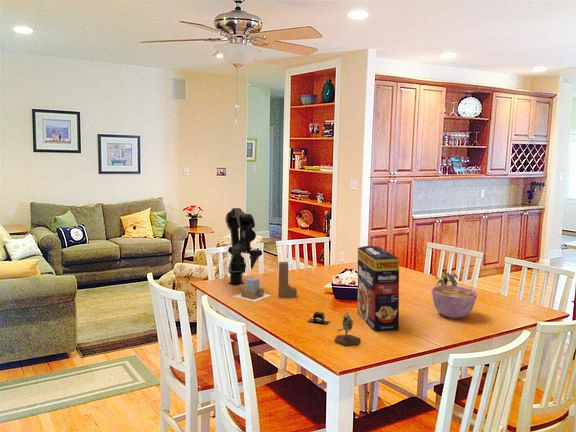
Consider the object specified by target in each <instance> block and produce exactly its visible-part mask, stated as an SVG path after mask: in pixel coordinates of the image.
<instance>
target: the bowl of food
mask: <svg viewBox="0 0 576 432" xmlns="http://www.w3.org/2000/svg"><path fill="white" fill-rule="evenodd" d="M431 294H432V295H431V296H432V301H433V305H434V308H435V310H437V311H436V312H438V313H440V314H441V315H443V316H444V317H446V318H449V319H461V318H463V317H467V316H468V315H470V314H471V312H472V311H473V309H474V305H475V302H476V300H477V296H478V292H477V291H475V290H473V289H472V288H468V287H463V286H459V285H458V286H457V285H456V286H453V285H442V286H441V285H438V286H434V287H431Z"/></svg>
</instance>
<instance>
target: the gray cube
mask: <svg viewBox="0 0 576 432" xmlns="http://www.w3.org/2000/svg"><path fill="white" fill-rule="evenodd" d="M244 284H245V285H244V286H245V287H244V288H245V289H247V290H252V291H254V290H257V289H259V288H260V278H257V277H249V278H245V280H244Z"/></svg>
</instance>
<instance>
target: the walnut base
mask: <svg viewBox="0 0 576 432" xmlns="http://www.w3.org/2000/svg"><path fill="white" fill-rule="evenodd" d="M264 289H265V288H263V287H259V289H257V290H254V291H252V290H247V289H245V287H244V288H241V291H240V294H241V297H244V298H248V299H253V300H254V299H257V298H260V297H263V296H264V294H265V293H264Z"/></svg>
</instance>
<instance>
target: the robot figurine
mask: <svg viewBox="0 0 576 432" xmlns="http://www.w3.org/2000/svg"><path fill="white" fill-rule="evenodd" d="M350 316H351V313H350V312H345V314H344V315H343V320H342V328H338V329H337V331H338V332H340V331H342V330H343V331H345V334H339V335H336V337H335V338H334V340H333V341H334V344H338V345H340V346H343V347H356V346H357V347H358V346H359V345H360V342H361V337H358V336H354V335H352V334H348V332H349V331H352V329H353V324H354V320H353V319H352V318H351V317H350Z"/></svg>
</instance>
